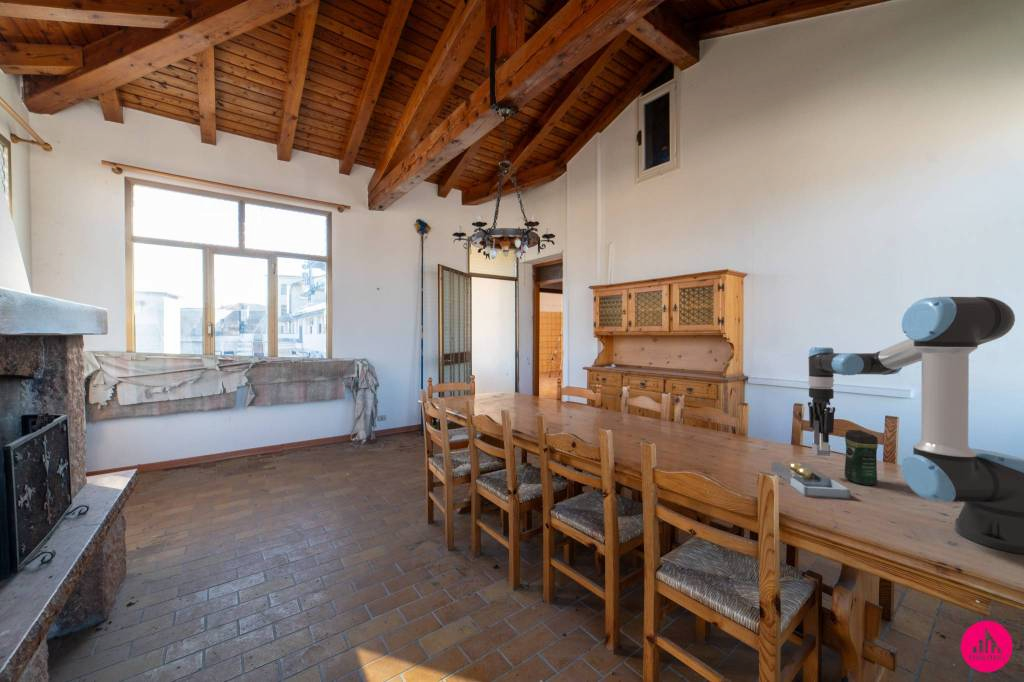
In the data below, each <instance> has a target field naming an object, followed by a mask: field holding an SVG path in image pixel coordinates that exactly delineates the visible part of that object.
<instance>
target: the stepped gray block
mask: <svg viewBox="0 0 1024 682" xmlns="http://www.w3.org/2000/svg"><path fill="white" fill-rule="evenodd" d="M819 432H821V425H820V420H814V430H813V442H811V443H812V444H811V450H812V451H811V452H812V454H813V455H815V456H818V457H819V456H820V457H821V456H822V457H823V456H825V457H830V456H831V445H830V444H829V451H821V450H820V433H819Z"/></svg>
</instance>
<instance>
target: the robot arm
mask: <svg viewBox="0 0 1024 682" xmlns="http://www.w3.org/2000/svg"><path fill="white" fill-rule="evenodd" d="M1015 322H1016V316H1015V313H1014V310H1013V309H1012V308H1011V306H1009V304H1007V302H1006V303H1005V302H1004V301H1002V300H1001V299H997V298H993V297H989V296H935V297H925V298H922V299H919V300H917V301H915V302H914V303H912V304H911V305H910V306H909V307H908V308H907V309H906V311H905V312H904V313H903V316H902V320H901V329H902V332H903V333H904V334H905V336H906V338H908V339H905V340H903V341H900V342H898V343H896V344H893V345H891V346H889V347H886V348H883V349H882V350H879V351H877V352H873V353H871V352H870V353H869V352H867V353H865V352H864V353H862V352H861V353H857V352H856V353H855V352H854V353H849V352H848V353H847V352H841V353H837V352H834V348H832V347H827V346H826V347H823V346H822V347H821V346H820V347H810V348H809V349H808V351H809V352H808V386H809V388H808V398H811V399H812V401H811V402H810V401H808V402H807V405H808V417H809V418H808V419H809V427H810V428H812V429H811V430H813V431H814V420H820V425H821V432H819V433H820V450H821V451H829V445H830V441H829V439H830V437H829V436H830V434H833V433H834V425H835V413H836V407H835V406H834V407H833V406H832V405H831V401H830V400H831V399H832V400H833V399H834V394H835V393H834V389H833V388H834V381H835V380H834V374H835V375H842V376H856V375H882V376H887V375H896V374H899V372H900V371H901V370H902V368H905V367H907V366H910V365H913V364H917V363H919V362H921V402H920V403H921V413H920V414H921V415H920V416H921V423H920V424H921V427H920V429H921V433H920V435H921V436H920V437H921V438H920V439H921V440H920V441H918V442H917V443H915V444H913V445H912V446H913V451H912V452H913V453H912V454H910V455H906V457H905V458H904V459H902V461H901V465H900V470H901V474H902V477H903V479H904V481H905V483H906V484H907V485H908V486H909V487H910V489H911V490H912V491H913V492H914V493H915V494H917V496H920V497H921V498H922V499H923V498H924V499H926V500H929V501H936V502H937V501H938V502H943V503H951V502H953V503H954V502H957V503H958V502H959V503H960V502H961V503H962V502H963V503H964V504H963V506H962V508H961V510H960V512H959V515H958V517H957V518H956V519H954V531H955V532H956V533H958V535H960V536H962V537H963V538H965V539H967V540H969V541H972V542H974V543H978V544H979V545H982V546H984V547H985V546H986V547H989V548H992V549H995V550H1000V551H1003V552H1009V553H1014V554H1020V555H1024V458H1021V457H1018V456H1014V455H1010V454H1005V453H1001V452H997V451H992V450H985V449H979V448H970V446H969V391H970V390H969V372H970V371H969V368H970V367H969V365H970V364H969V363H970V361H969V360H970V359H969V358H970V357H969V355H970V354H971V353H972V352H974V351H975V350H977V349H978V348H979V347H978V346H980V345H982V344H983V345H984V344H986V343H989V342H992V341H995V340H999V338H1002V337H1004V336H1005V335H1007V334H1008V333H1010V331H1011V330H1012V328H1013V327H1014V325H1015Z"/></svg>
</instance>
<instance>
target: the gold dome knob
mask: <svg viewBox="0 0 1024 682" xmlns="http://www.w3.org/2000/svg"><path fill="white" fill-rule="evenodd" d="M799 475H800V476H802V478H804V479H812V469H809V468H805V467H799Z"/></svg>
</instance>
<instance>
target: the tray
mask: <svg viewBox="0 0 1024 682" xmlns="http://www.w3.org/2000/svg"><path fill="white" fill-rule="evenodd" d="M790 487H791V488H793V489H794V490H796V491H797V492H798V493H800V494H801V495H802V496H803V497H807V498H808V497H809V496H810V497H811V498H812V497H813V498H831V499H843V500H844V499H848V500H850V499H851V489H849V488H847V487H846V486H844V485H842V484H841V483H839V482H837V481H836V480H834V479H830V487H825V486H806V485H803V484H801V483H800V482H798V481H797V480H796V479H794V478H791V484H790Z"/></svg>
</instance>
